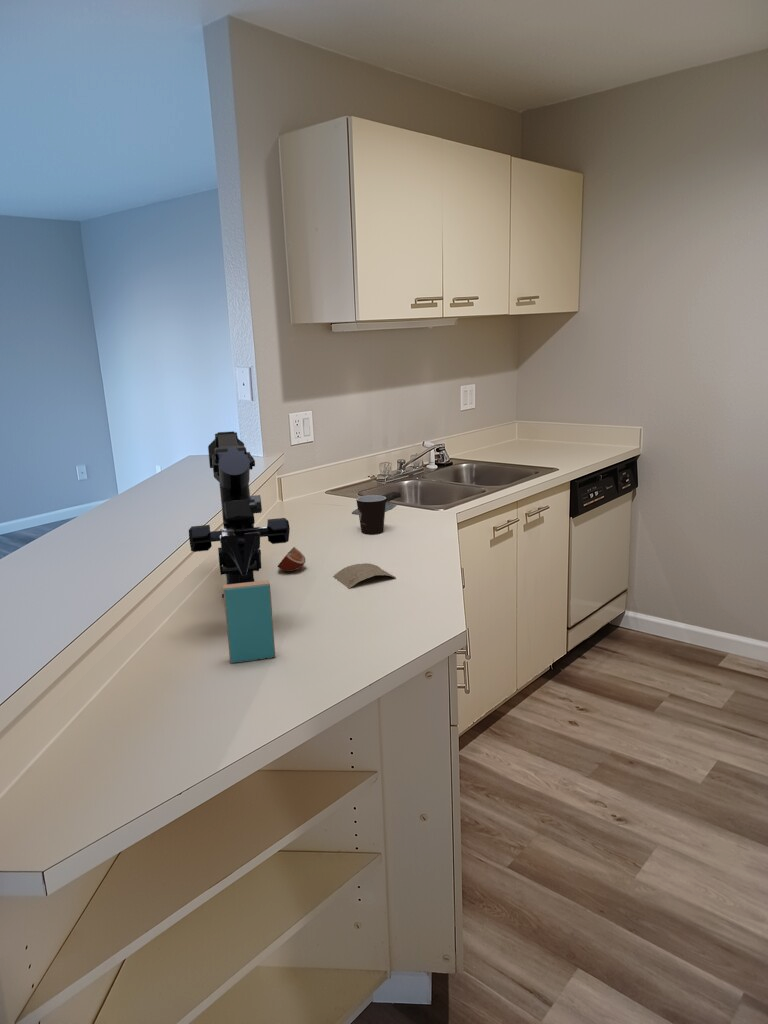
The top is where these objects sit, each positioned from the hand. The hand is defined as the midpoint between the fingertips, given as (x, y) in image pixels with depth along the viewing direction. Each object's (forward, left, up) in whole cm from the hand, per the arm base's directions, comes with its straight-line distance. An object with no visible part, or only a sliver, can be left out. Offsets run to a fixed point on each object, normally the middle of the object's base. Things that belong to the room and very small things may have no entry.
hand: (244, 574), depth 135 cm
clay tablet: (-10, +39, -14) cm, 42 cm away
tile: (+8, -4, -13) cm, 16 cm away
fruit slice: (-28, +31, -13) cm, 44 cm away
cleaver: (-62, +92, -14) cm, 112 cm away
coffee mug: (-40, +69, -13) cm, 81 cm away
